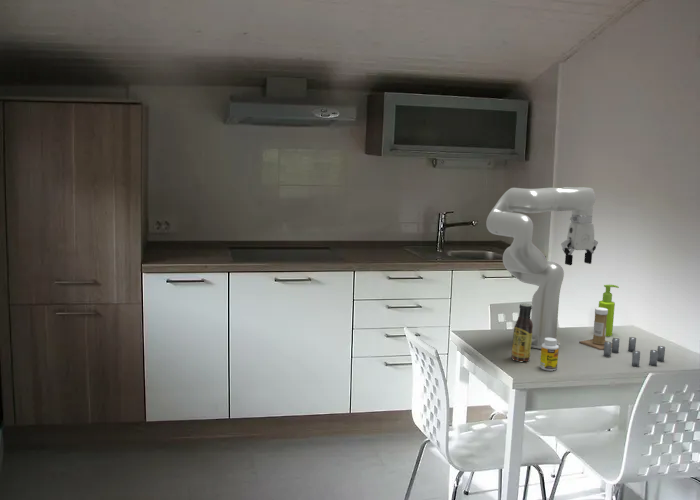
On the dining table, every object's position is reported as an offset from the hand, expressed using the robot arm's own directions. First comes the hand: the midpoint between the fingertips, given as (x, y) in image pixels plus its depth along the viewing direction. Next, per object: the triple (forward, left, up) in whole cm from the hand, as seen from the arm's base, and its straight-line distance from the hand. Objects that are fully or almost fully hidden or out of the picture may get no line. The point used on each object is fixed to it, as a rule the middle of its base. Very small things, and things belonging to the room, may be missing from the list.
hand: (578, 263), depth 269 cm
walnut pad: (0, -13, -29) cm, 31 cm away
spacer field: (-2, -30, -29) cm, 42 cm away
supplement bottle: (-38, -25, -29) cm, 54 cm away
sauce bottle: (-40, -14, -29) cm, 51 cm away
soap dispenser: (+14, -4, -29) cm, 32 cm away
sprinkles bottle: (0, -13, -28) cm, 31 cm away
